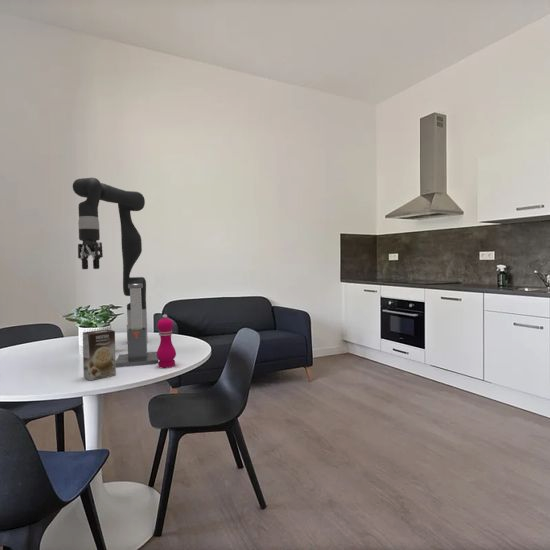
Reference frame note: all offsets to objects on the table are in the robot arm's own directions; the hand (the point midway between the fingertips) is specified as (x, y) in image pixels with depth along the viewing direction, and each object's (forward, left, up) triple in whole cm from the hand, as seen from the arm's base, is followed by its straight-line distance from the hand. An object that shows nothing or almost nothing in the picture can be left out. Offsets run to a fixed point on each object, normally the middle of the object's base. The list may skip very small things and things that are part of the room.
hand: (90, 269), depth 158 cm
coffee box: (+20, -9, -38) cm, 44 cm away
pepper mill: (+29, +13, -38) cm, 50 cm away
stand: (+12, +12, -38) cm, 42 cm away
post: (+12, +12, -30) cm, 35 cm away
